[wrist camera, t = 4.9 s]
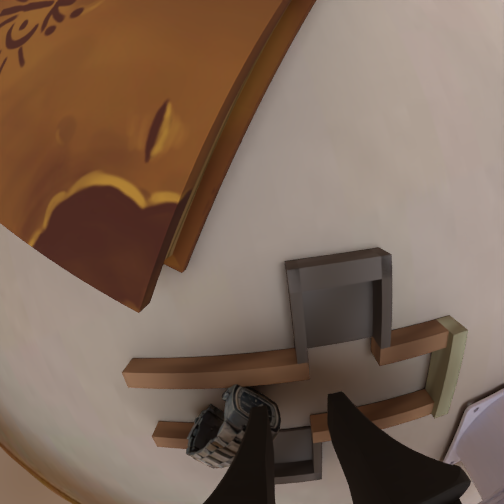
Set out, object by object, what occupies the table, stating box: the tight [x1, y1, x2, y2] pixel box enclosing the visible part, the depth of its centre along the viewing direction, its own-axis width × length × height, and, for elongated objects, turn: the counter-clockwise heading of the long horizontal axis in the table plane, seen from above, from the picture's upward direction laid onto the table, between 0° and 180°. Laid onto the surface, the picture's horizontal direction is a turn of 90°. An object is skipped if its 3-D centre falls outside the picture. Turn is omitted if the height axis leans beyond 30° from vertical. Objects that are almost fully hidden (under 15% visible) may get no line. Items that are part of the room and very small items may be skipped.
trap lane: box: [122, 248, 468, 484], centre depth 14 cm, size 18×15×2 cm
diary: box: [0, 0, 316, 313], centre depth 9 cm, size 23×19×6 cm
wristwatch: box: [186, 384, 281, 468], centre depth 13 cm, size 3×5×5 cm, turn 133°
